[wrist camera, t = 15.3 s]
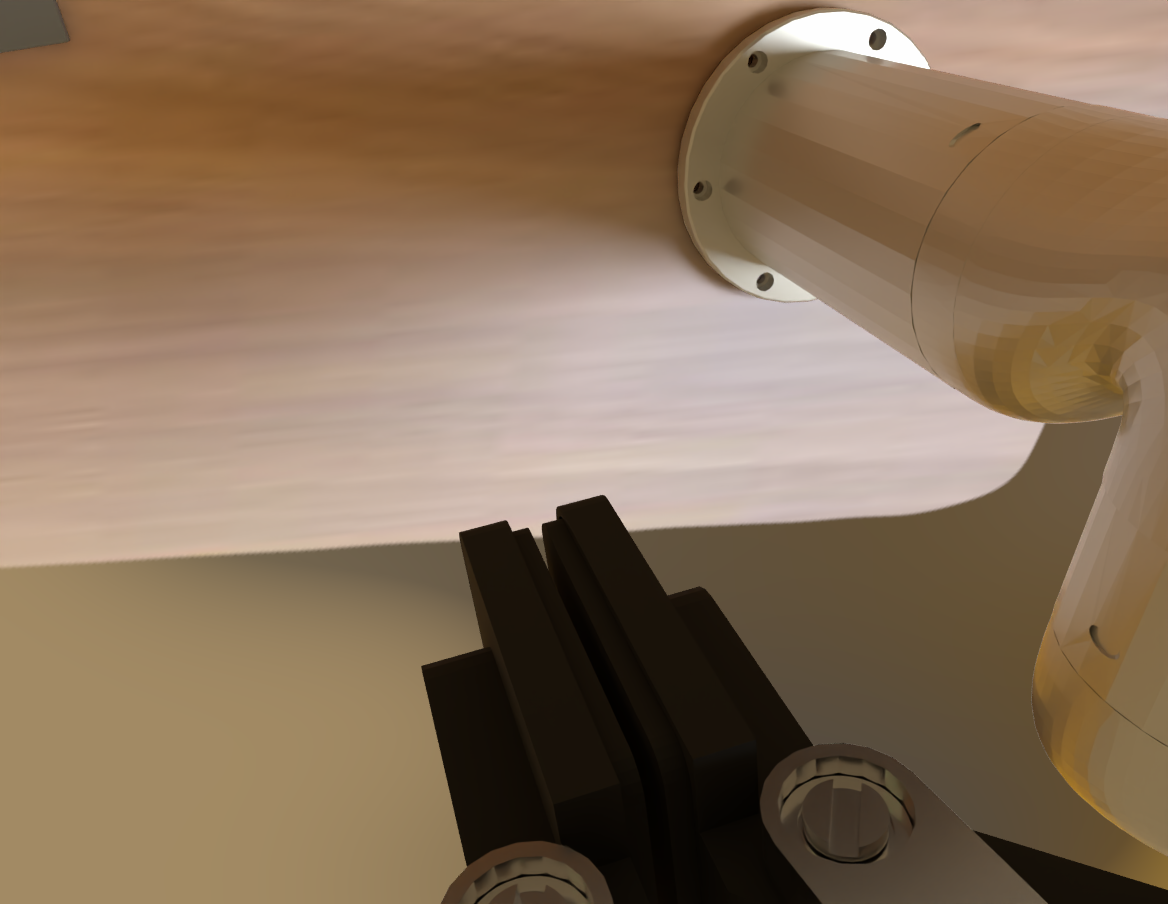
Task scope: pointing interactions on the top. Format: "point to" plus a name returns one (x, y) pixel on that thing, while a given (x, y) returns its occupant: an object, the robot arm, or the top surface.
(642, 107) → the top surface
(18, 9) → the mat
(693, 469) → the top surface
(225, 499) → the top surface
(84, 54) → the top surface
